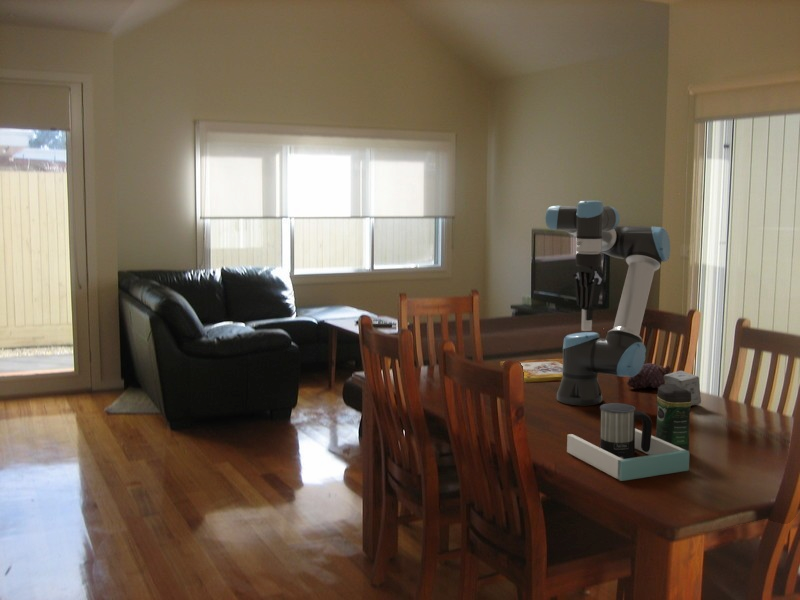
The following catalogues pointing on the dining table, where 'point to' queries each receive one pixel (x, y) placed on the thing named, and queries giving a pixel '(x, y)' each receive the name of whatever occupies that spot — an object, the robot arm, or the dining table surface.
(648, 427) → the milk frother
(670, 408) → the coffee jar
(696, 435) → the dining table surface
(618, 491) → the dining table surface
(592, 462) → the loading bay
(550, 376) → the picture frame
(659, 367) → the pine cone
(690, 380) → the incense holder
